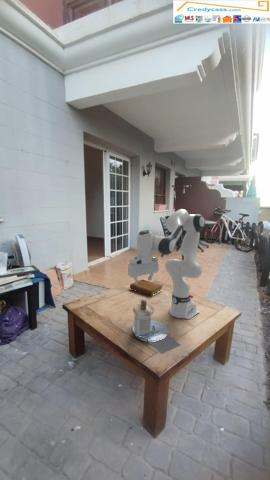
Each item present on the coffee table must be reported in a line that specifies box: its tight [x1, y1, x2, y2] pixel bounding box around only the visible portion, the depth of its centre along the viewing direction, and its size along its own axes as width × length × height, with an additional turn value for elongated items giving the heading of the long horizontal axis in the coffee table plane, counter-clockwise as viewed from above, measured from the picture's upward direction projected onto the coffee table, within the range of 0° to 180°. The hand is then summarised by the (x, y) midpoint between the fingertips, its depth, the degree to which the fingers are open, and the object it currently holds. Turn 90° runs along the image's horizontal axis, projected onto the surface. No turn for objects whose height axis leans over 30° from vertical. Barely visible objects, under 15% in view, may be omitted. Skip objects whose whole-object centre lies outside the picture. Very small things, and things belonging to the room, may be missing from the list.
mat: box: [147, 334, 181, 354], centre depth 121 cm, size 14×14×1 cm
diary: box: [129, 279, 164, 298], centre depth 196 cm, size 23×19×6 cm
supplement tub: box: [133, 313, 152, 338], centre depth 128 cm, size 10×10×15 cm
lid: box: [132, 299, 155, 316], centre depth 126 cm, size 12×12×6 cm
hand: (143, 281), depth 127 cm, fingers open, 8 cm apart
